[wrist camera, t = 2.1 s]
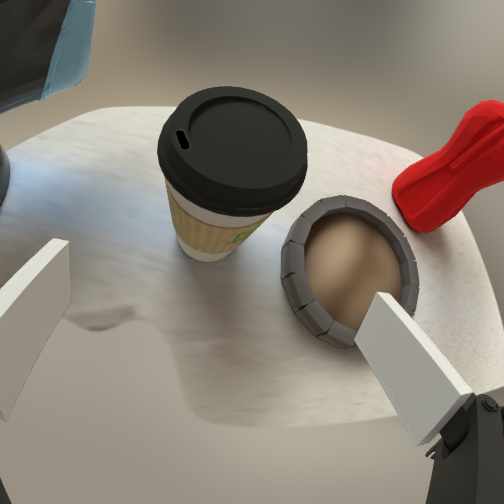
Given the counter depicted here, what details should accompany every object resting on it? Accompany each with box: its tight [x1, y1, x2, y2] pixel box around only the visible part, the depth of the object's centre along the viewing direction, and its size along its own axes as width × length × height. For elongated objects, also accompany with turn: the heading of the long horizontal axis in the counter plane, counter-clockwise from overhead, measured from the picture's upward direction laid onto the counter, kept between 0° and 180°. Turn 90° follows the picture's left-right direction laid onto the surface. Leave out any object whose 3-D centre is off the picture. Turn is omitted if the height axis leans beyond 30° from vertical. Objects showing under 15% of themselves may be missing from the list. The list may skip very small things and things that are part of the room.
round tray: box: [281, 195, 420, 349], centre depth 32 cm, size 17×17×2 cm
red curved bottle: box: [392, 100, 504, 232], centre depth 29 cm, size 9×11×25 cm
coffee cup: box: [157, 86, 308, 262], centre depth 24 cm, size 10×10×15 cm
